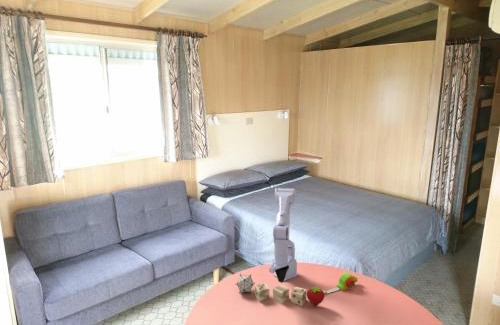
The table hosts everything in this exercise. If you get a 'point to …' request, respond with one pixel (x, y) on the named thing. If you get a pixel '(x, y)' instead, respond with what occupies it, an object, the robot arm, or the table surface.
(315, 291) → the strawberry
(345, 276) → the toy measuring tape
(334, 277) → the table surface
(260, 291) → the pip block
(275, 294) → the plain block
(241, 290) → the game die
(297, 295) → the pip block
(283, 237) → the robot arm
